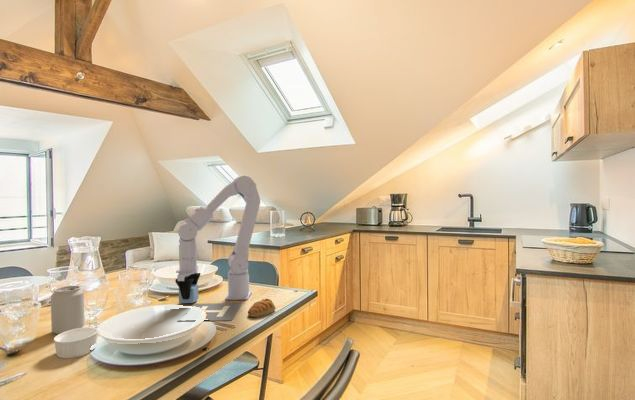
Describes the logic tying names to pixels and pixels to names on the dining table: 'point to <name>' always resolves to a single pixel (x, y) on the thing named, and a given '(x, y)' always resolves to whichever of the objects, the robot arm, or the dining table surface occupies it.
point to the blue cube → (192, 297)
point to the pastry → (261, 308)
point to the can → (67, 309)
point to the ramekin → (75, 342)
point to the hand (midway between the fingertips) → (188, 296)
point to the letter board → (220, 310)
